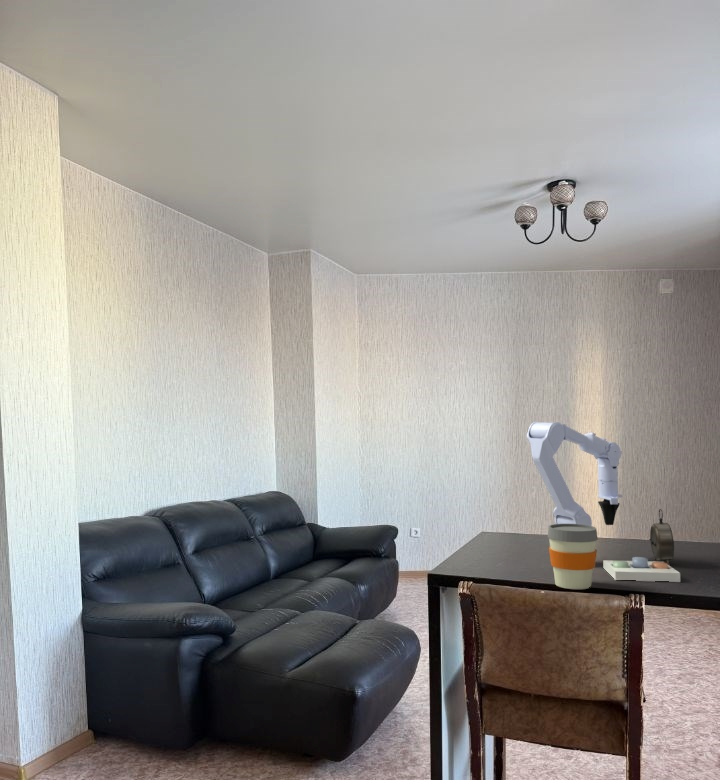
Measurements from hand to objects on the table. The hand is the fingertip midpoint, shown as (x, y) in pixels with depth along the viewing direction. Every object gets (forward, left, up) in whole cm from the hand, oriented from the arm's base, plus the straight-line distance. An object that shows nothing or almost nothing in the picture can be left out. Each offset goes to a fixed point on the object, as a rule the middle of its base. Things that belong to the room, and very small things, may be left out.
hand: (609, 524), depth 211 cm
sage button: (-2, -21, -10) cm, 24 cm away
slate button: (+3, -21, -9) cm, 23 cm away
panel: (+3, -21, -10) cm, 24 cm away
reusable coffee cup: (-17, -34, -11) cm, 40 cm away
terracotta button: (+8, -21, -10) cm, 25 cm away
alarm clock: (+14, -5, -11) cm, 18 cm away
